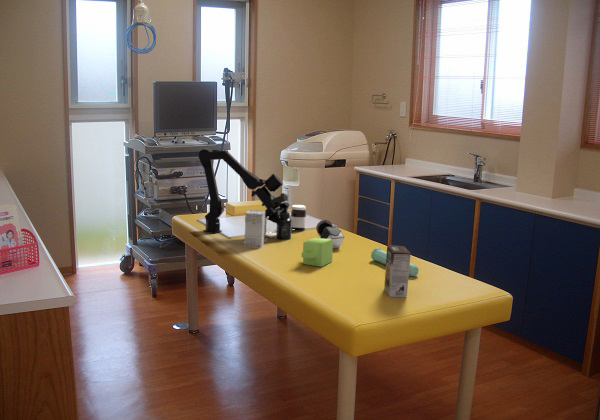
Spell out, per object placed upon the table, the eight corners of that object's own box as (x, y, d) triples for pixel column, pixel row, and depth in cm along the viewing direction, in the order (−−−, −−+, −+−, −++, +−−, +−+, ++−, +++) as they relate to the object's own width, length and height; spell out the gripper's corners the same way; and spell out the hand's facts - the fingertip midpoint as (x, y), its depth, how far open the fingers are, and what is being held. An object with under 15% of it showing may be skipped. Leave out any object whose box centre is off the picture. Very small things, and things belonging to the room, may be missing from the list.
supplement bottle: (293, 237, 292) (294, 212, 289) (286, 240, 285) (288, 215, 283) (280, 235, 294) (281, 210, 292) (273, 238, 288) (274, 213, 286)
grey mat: (256, 234, 295) (256, 233, 295) (269, 231, 301) (269, 230, 301) (270, 238, 289) (270, 237, 289) (283, 235, 296) (283, 234, 296)
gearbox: (315, 256, 264) (315, 234, 262) (336, 259, 259) (337, 236, 258) (295, 265, 248) (296, 242, 246) (318, 268, 243) (318, 245, 242)
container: (419, 261, 239) (380, 245, 260) (407, 269, 237) (369, 251, 258) (422, 274, 241) (383, 257, 262) (411, 282, 239) (372, 263, 260)
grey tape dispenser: (311, 237, 295) (312, 216, 293) (331, 237, 297) (333, 216, 295) (322, 251, 271) (324, 229, 269) (345, 251, 273) (346, 229, 271)
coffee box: (383, 288, 224) (386, 245, 221) (401, 288, 224) (404, 245, 221) (389, 297, 215) (392, 251, 212) (407, 297, 216) (411, 252, 212)
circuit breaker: (266, 240, 285) (267, 208, 282) (261, 248, 271) (262, 214, 268) (250, 239, 285) (251, 206, 282) (244, 246, 271) (245, 213, 269)
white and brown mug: (305, 231, 305) (306, 208, 302) (282, 230, 305) (283, 207, 302) (305, 226, 316) (306, 203, 314) (283, 225, 316) (284, 202, 314)
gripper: (268, 190, 279) (289, 217, 276) (286, 185, 295) (307, 210, 293) (252, 205, 283) (273, 232, 281) (271, 199, 300) (291, 224, 298)
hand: (286, 224), depth 288 cm, fingers closed on supplement bottle, 7 cm apart
